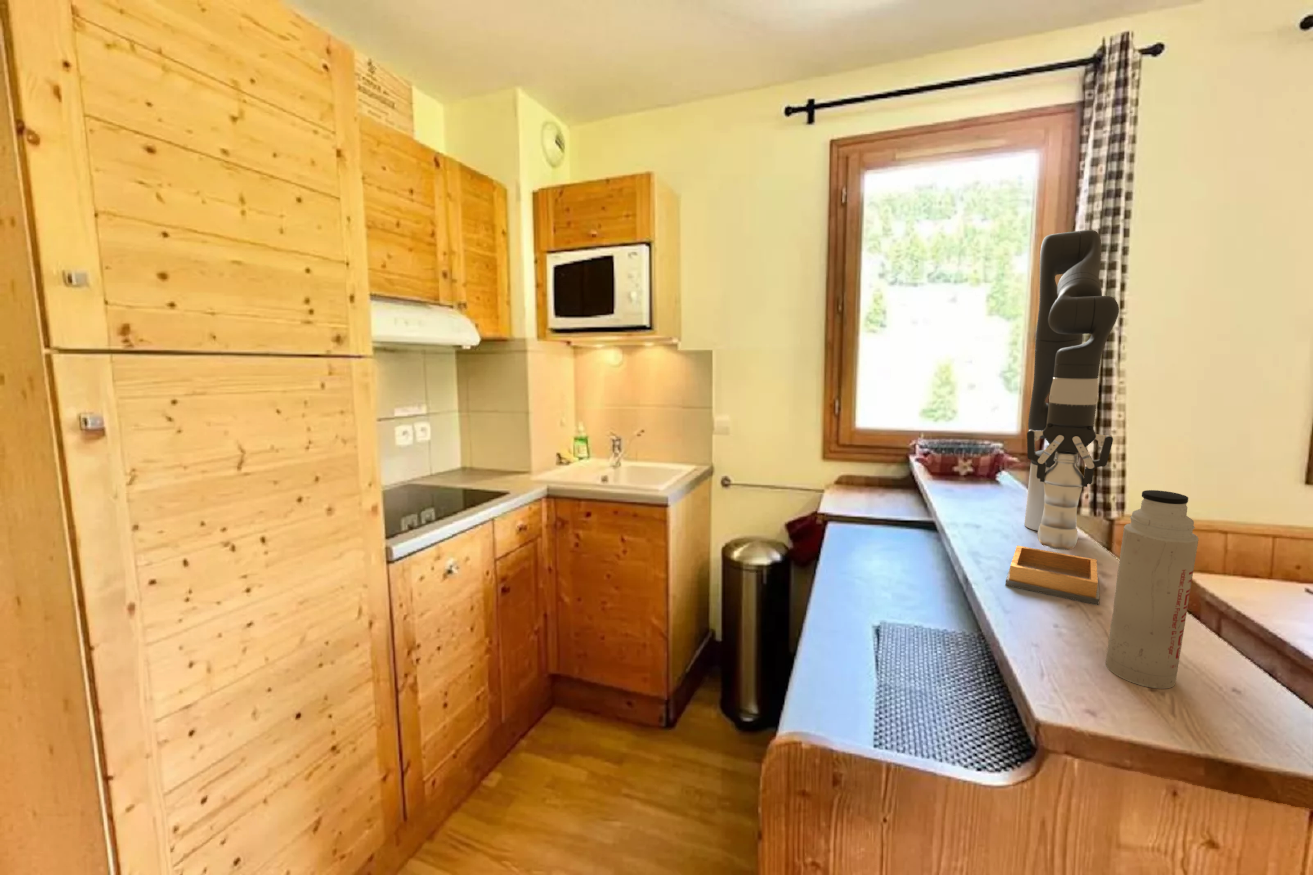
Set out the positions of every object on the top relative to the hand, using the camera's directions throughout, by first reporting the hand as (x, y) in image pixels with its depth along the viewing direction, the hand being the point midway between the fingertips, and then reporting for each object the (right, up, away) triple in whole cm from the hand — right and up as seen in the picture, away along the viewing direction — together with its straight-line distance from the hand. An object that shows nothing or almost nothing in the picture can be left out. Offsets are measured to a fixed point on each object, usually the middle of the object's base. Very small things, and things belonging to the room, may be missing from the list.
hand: (1063, 483), depth 111 cm
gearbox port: (0, -21, +3) cm, 21 cm away
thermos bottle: (-9, -26, -28) cm, 40 cm away
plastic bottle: (0, -14, +2) cm, 14 cm away
